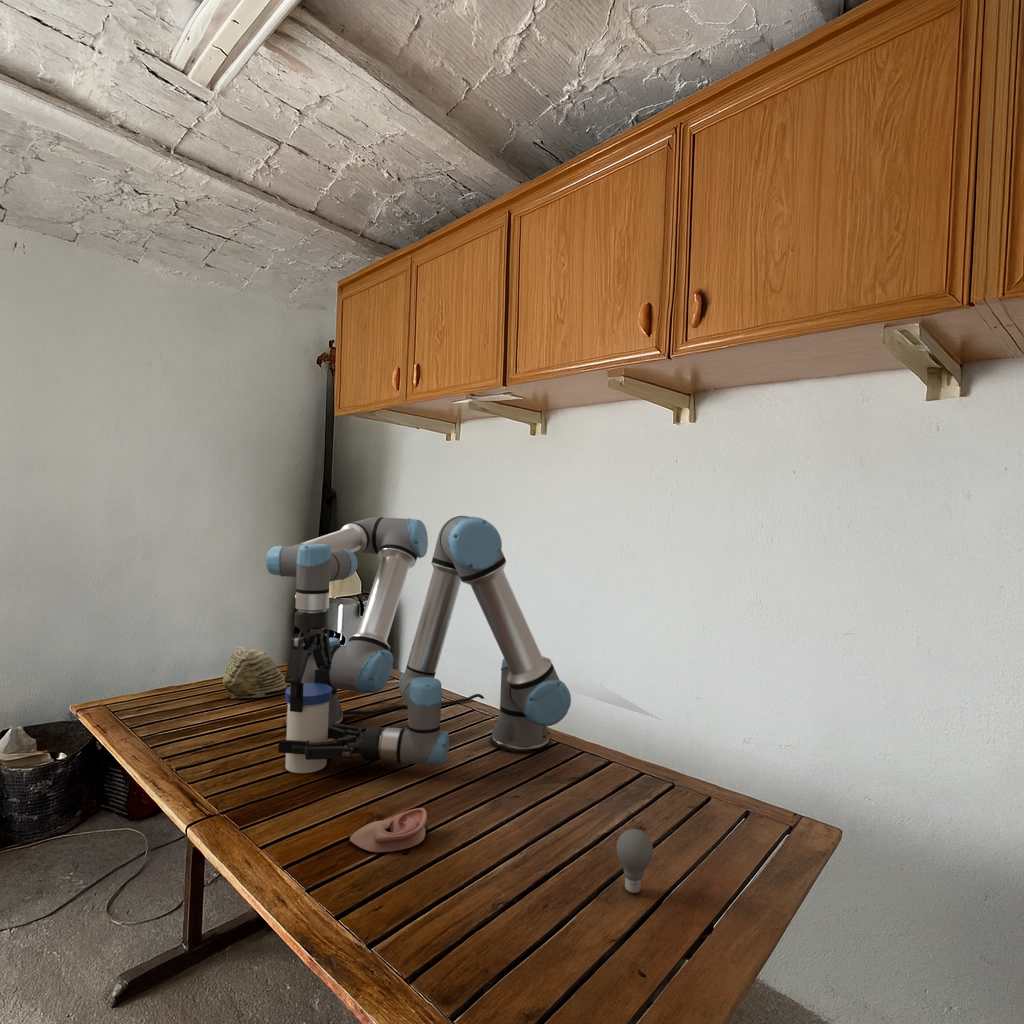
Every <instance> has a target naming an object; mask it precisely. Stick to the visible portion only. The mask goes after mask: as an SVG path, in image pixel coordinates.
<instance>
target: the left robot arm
mask: <svg viewBox="0 0 1024 1024" xmlns="http://www.w3.org/2000/svg"><path fill="white" fill-rule="evenodd" d="M428 547H429V538H428V531H427V528H426V525H425V523H424V522H423V521H422V520H420V519H416V518H415V519H414V518H410V517H408V518H398V517H384V516H375V517H368V518H364V519H360V520H357V521H354V522H351V523H346V524H344V525H343V526H342V527H341V528H340V529H339V530H337V531H334V532H331V533H328V534H324V535H321V536H319V537H316V538H313V539H309V540H306V541H303V542H300V543H298V544H294V545H290V546H285V545H276V546H272V547H271V548H270V549H269V550H268V552H267V553H266V557H265V567H266V570H267V572H268V573H269V574H270V575H273V576H280V577H287V578H288V577H289V578H290V577H291V578H296V583H295V584H296V587H295V596H294V598H295V610H296V611H295V612H294V627H295V628H296V629H298V630H299V633H298V636H297V637H292V638H291V639H290V651H289V657H288V661H287V667H286V672H285V676H284V677H285V682H286V684H290V686H291V692H290V711H292V712H302V710H303V684H304V683H321V684H326V685H329V686H331V687H332V698H331V700H329V715H328V725H330V723H338V724H343V722H344V715H345V716H347V715H372V714H373V715H374V714H378V713H382V712H385V711H391V710H395V709H406V708H407V709H408V707H407V705H406V704H396V705H389V706H385V707H381V708H378V709H371V710H343V709H342V706H341V702H340V699H339V695H338V690H342V691H350V692H358V693H360V694H366V693H367V694H376V693H379V692H380V691H381V690H383V689H384V687H385V686H386V685H387V684H388V682H389V680H390V678H391V675H392V673H393V670H394V665H393V664H394V656H393V653H392V652H391V646H390V645H389V643H388V638H389V636H390V632H391V628H392V626H393V622H394V619H395V615H396V611H397V608H398V606H399V603H400V598H401V595H402V592H403V588H404V585H405V582H406V578H407V576H408V572H409V569H411V568H414V567H415V565H416V563H417V560H418V559H421V558H424V557H426V555H427V552H428ZM359 554H371V555H377V556H378V558H379V560H380V562H379V565H378V569H377V571H376V574H375V577H374V580H373V584H372V587H371V589H370V592H369V596H368V599H367V601H366V604H365V607H364V611H363V613H362V617H361V620H360V623H359V626H358V629H357V631H356V633H354V634H352V635H350V636H349V638H348V641H347V644H346V645H341V641H340V639H339V638H337V637H330V627H328V625H329V611H328V609H329V608H330V586H331V585H330V584H331V582H335V581H342V580H343V581H344V580H346V579H348V578H351V577H352V576H353V575H354V574H355V573H356V571H357V569H358V565H359V564H358V558H357V555H359ZM464 698H465V699H464ZM464 698H459V699H454V700H449V701H448V700H447V701H441V706H448V705H449V706H450V705H454V704H459V703H465V702H468V701H471V700H473V699H475V698H480V699H482V700H484V699H485V697H484V695H483V694H481V693H475V694H473V695H472V694H471V696H468V697H464ZM285 726H286V727H287V714H286V715H285Z"/></svg>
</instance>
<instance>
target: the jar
mask: <svg viewBox="0 0 1024 1024" xmlns="http://www.w3.org/2000/svg"><path fill="white" fill-rule="evenodd" d="M286 709H287V710H286V711H287V713H286V715H287V726H286V736H285V737H286V739H285V740H294V741H308V740H309V743H318V742H327V741H328V739H329V738H328V715H329V701H327V702H325V703H322V704H317V705H303V710H302V712H292V711H290V703H287V708H286ZM327 762H328V759H315V760H306V759H305V754H291V753H285V763H284V764H285V767H284V768H285V770H286V771H288V772H290V773H294V774H311V773H315V772H318V771H321V770H323V769H324V768H326V766H327V764H328V763H327Z"/></svg>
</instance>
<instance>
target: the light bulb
mask: <svg viewBox="0 0 1024 1024" xmlns="http://www.w3.org/2000/svg"><path fill="white" fill-rule="evenodd" d="M615 849H616V854H617V857H618V859H619V861H620V863H621V865H622V867H623V873H624V874H623V875H624V876H625V878H624V888H625V890H627V891H628V892H630V893H634V894H635V893H639V892H640V891H641V889H642V887H641V886H642V879H643V877H644V875H645V871H646V868H647V867H648V866H649V864H650V863H651V861H652V859H653V855H654V847H653V843H652V841H651V838H649V836H648V835H647V834H646V833H645V832H643V831H642V830H641V829H636V828H629V829H627V830H625V831H623V832H622V833H621V834H620V835H619V837H618V839H617V841H616V847H615Z"/></svg>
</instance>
